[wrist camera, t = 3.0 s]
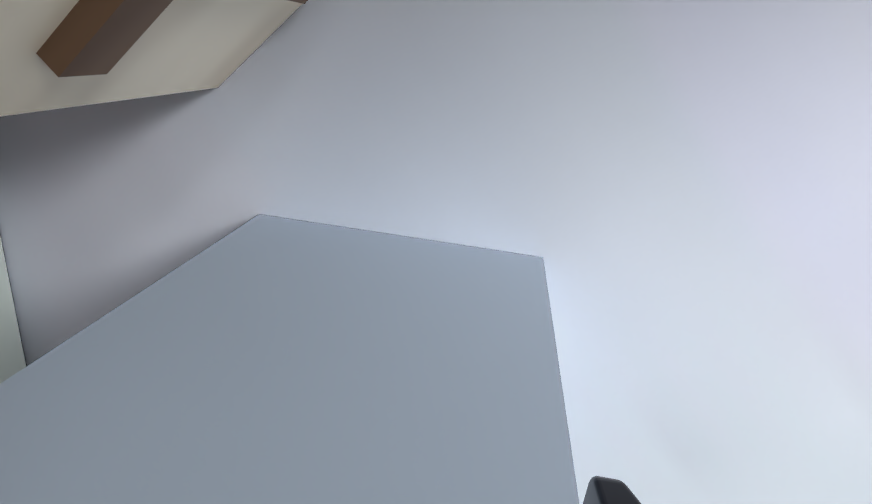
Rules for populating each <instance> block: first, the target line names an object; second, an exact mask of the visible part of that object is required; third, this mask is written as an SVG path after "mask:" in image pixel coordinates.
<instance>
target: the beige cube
mask: <svg viewBox="0 0 872 504" xmlns="http://www.w3.org/2000/svg"><path fill="white" fill-rule="evenodd" d="M307 1H308V0H0V117H1V116H8V115H16V114H24V113H31V112H39V111H46V110H54V109H61V108H69V107H77V106H84V105H92V104H99V103H107V102H114V101H122V100H130V99H137V98H145V97H152V96H160V95H167V94H175V93H183V92H190V91H198V90H205V89H213V88H218V87H219V86H220V85H221V84H222V83H223V82H224V81H225V80H226V79H227V78H228V77H229V76H230V75H231V74H232V73H233V72H234V71H235V70H236V69H237V68H238V67H239V66H240V65H241V64H242V63H243V62H244V61H245V60H246V59H247V58H248V57H250V56H251V55H252V54H253V53H254V52H255V51H256V50H257V49H258V48H259V47H260V46H261V45H262V44H263V43H264V42H265V41H266V40H267V39H268V38H269V37H270V36H271V35H272V34H273V33H274V32H275V31H276V30H277V29H278V28H279V27H280V26H281V25H282V24H283V23H284V22H285V21H286V20H287V19H288V18H289V17H290V16H291V15H292V14H293V13H294V12H295V11H296V10H297V9H298V8H299V7H300V6H301V5H302V4H305V3H306V2H307Z"/></svg>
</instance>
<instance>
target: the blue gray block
mask: <svg viewBox="0 0 872 504" xmlns="http://www.w3.org/2000/svg"><path fill="white" fill-rule="evenodd" d="M0 504H579V499H578V492H577V485H576V478H575V471H574V465H573V458H572V451H571V444H570V437H569V431H568V424H567V417H566V410H565V403H564V396H563V390H562V383H561V376H560V369H559V362H558V355H557V349H556V342H555V335H554V328H553V321H552V315H551V308H550V301H549V294H548V287H547V280H546V274H545V267H544V260H543V257H537V256H531V255H524V254H517V253H511V252H504V251H498V250H491V249H484V248H478V247H471V246H465V245H458V244H452V243H445V242H438V241H432V240H425V239H419V238H412V237H406V236H399V235H392V234H386V233H379V232H373V231H366V230H359V229H353V228H346V227H340V226H333V225H327V224H320V223H313V222H307V221H300V220H294V219H287V218H281V217H274V216H267V215H261V214H259V215H257V216H256V217H254V218H253V219H251V220H250V221H248V222H247V223H245V224H244V225H242V226H241V227H239V228H238V229H236V230H235V231H233V232H231V233H230V234H228V235H227V236H225V237H224V238H222V239H221V240H219V241H218V242H216V243H215V244H213V245H212V246H210V247H209V248H207V249H205V250H204V251H202V252H201V253H199V254H198V255H196V256H195V257H193V258H192V259H190V260H189V261H187V262H186V263H184V264H183V265H181V266H179V267H178V268H176V269H175V270H173V271H172V272H170V273H169V274H167V275H166V276H164V277H163V278H161V279H160V280H158V281H157V282H155V283H153V284H152V285H150V286H149V287H147V288H146V289H144V290H143V291H141V292H140V293H138V294H137V295H135V296H134V297H132V298H131V299H129V300H127V301H126V302H124V303H123V304H121V305H120V306H118V307H117V308H115V309H114V310H112V311H111V312H109V313H108V314H106V315H105V316H103V317H101V318H100V319H98V320H97V321H95V322H94V323H92V324H91V325H89V326H88V327H86V328H85V329H83V330H82V331H80V332H79V333H77V334H75V335H74V336H72V337H71V338H69V339H68V340H66V341H65V342H63V343H62V344H60V345H59V346H57V347H56V348H54V349H53V350H51V351H49V352H48V353H46V354H45V355H43V356H42V357H40V358H39V359H37V360H36V361H34V362H33V363H31V364H30V365H28V366H27V367H25V368H23V369H22V370H20V371H19V372H17V373H16V374H14V375H13V376H11V377H10V378H8V379H7V380H5V381H4V382H2V383H1V384H0Z"/></svg>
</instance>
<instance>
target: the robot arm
mask: <svg viewBox="0 0 872 504" xmlns="http://www.w3.org/2000/svg"><path fill="white" fill-rule="evenodd" d="M583 504H641V503H640V502H639V500H638V499H637V498H636V497H635V495H634V494H633V493H632V492H631V491H630V489H629V488H628V487H627V486H626V485H625V484H624V483H623V482H622V481H620V480H616V479H611V478H605V477H600V476H595V477H593V478H591V480H590V482H589V484H588V488H587V491H586V495H585V498H584V502H583Z"/></svg>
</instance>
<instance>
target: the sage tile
mask: <svg viewBox="0 0 872 504" xmlns="http://www.w3.org/2000/svg"><path fill="white" fill-rule="evenodd" d="M25 367H26V363H25V358H24V353H23V348H22V343H21V338H20V333H19V328H18V323H17V318H16V313H15V307H14V302H13V297H12V292H11V287H10V282H9V277H8V272H7V267H6V262H5V257H4V252H3V247H2V242H1V237H0V384H1V383H2V382H4V381H5V380H7V379H8V378H10V377H11V376H13V375H14V374H16V373H17V372H19V371H20V370H22V369H23V368H25Z"/></svg>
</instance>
